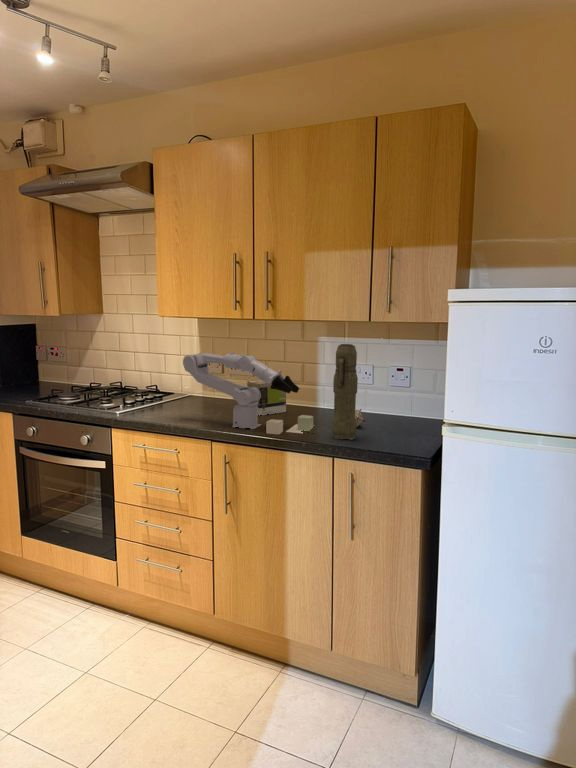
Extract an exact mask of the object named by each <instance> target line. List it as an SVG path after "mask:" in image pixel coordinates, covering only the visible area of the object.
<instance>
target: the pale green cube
mask: <svg viewBox="0 0 576 768" xmlns="http://www.w3.org/2000/svg"><path fill="white" fill-rule="evenodd" d="M297 424H298V430H304V431H310V430H311V429H312V428H313V426H314V415H306V414H301V415H299V416H297Z"/></svg>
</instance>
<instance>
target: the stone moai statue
mask: <svg viewBox="0 0 576 768" xmlns="http://www.w3.org/2000/svg"><path fill="white" fill-rule="evenodd" d="M356 348H357V347H356V346H355V345H353V344H351V343H341V344H339V345H337V348H336V351H335V371H334V372H335V373H334V375H333V388H332V389H333V394H334V397H333V398H334V399H333V404H334V405H333V418H332V421H331V422H332V423H331V432H332V433H331V434H332V435H333V437H336V438H343V439H348V438H354V437H355V438H356V433H357V429H356V428H357V427H356V419H355V410H356V402H357V401H356V399H357V398H356V397H357V393H358V383H359V382H358V380H359V379H358V375H357V359H358V357H357V356H358V355H357V354H358V351H357V349H356Z"/></svg>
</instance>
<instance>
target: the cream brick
mask: <svg viewBox="0 0 576 768" xmlns="http://www.w3.org/2000/svg"><path fill="white" fill-rule="evenodd" d="M265 428H266V431H265V432H266V434H267V435H280V434H282V433H283V432H284V420H283V419H275V418H274V419H273V418H272V419H269V420H267V421H266V427H265Z"/></svg>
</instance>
